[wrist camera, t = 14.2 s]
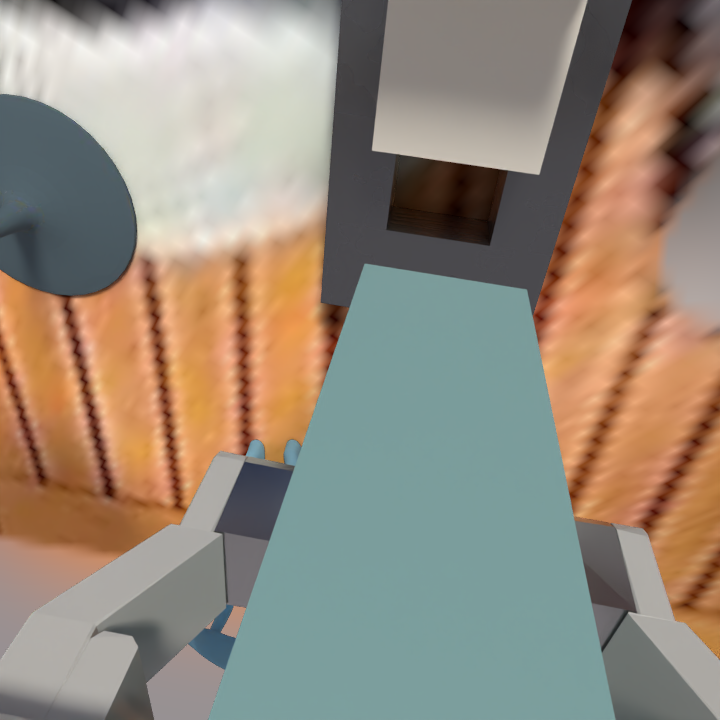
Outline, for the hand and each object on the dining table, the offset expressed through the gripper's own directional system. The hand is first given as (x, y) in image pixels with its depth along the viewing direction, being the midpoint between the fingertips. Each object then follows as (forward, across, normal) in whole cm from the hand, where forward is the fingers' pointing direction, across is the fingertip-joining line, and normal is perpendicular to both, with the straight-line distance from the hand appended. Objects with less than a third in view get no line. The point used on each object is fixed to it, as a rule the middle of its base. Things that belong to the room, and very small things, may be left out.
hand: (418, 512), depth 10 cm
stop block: (+6, 0, +1) cm, 6 cm away
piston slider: (+18, 0, -6) cm, 19 cm away
